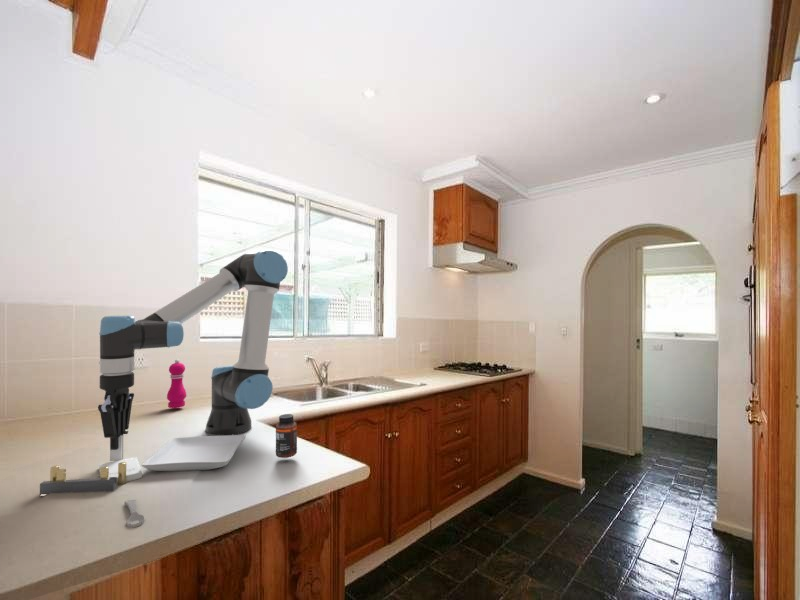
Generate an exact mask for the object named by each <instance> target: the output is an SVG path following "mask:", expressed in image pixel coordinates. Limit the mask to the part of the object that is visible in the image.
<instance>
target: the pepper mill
mask: <svg viewBox="0 0 800 600" xmlns="http://www.w3.org/2000/svg"><path fill="white" fill-rule="evenodd" d="M168 368H169V369H168V372H169V373H170V375H169V376H170V377H169V378H170V380H171V383H170V388H169V389H168V391H167V394H166V399H167V401H169V402H168V403H167V407H168V408H170V409H178V408H182V407H185V405H186V401H185V399H186V398H187V392H186V388H185V386H184V383H183V378H184V373H185V370H186V366H185V364H183V363H181V362H180V359H179V358H177V359H175V360H174V363H171V365H170V366H169V367H168Z"/></svg>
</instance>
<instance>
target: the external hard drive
mask: <svg viewBox="0 0 800 600" xmlns="http://www.w3.org/2000/svg"><path fill="white" fill-rule="evenodd" d="M138 459H139V458H138V457H137V456H134V457H129V458H123V460H118V461H109V462H103V463H101V464H99V467H98V471H100V468H102V467H105V466H108V467H109V477H117V484H118V464H119V463H121V462H126V482H130V481H135V480H139V479H141V478H142V477H143V471H142V468H141V465H140V462H139V460H138Z"/></svg>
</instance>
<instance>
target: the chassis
mask: <svg viewBox="0 0 800 600" xmlns="http://www.w3.org/2000/svg"><path fill="white" fill-rule="evenodd" d="M49 477H50V478H49V480H44V481H42V482H41V483H39V496H40V495H41V494H48V495H50V494H58V493H59V494H63V493H98V492H101V493H102V492H105V493H106V492H115V491H116V490H117V485H118V486H123V485H126V483H127V481H126V462H121V463H119V464H118V483H117V477H109V467H108V466H105V467H102V468H100V470H99V477H95V478H92V477H91V478H79V479H78V478H77V479H76V478H75V479H67V469H66V468H61V469H60V465H53V466H51V467H50V474H49Z"/></svg>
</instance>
